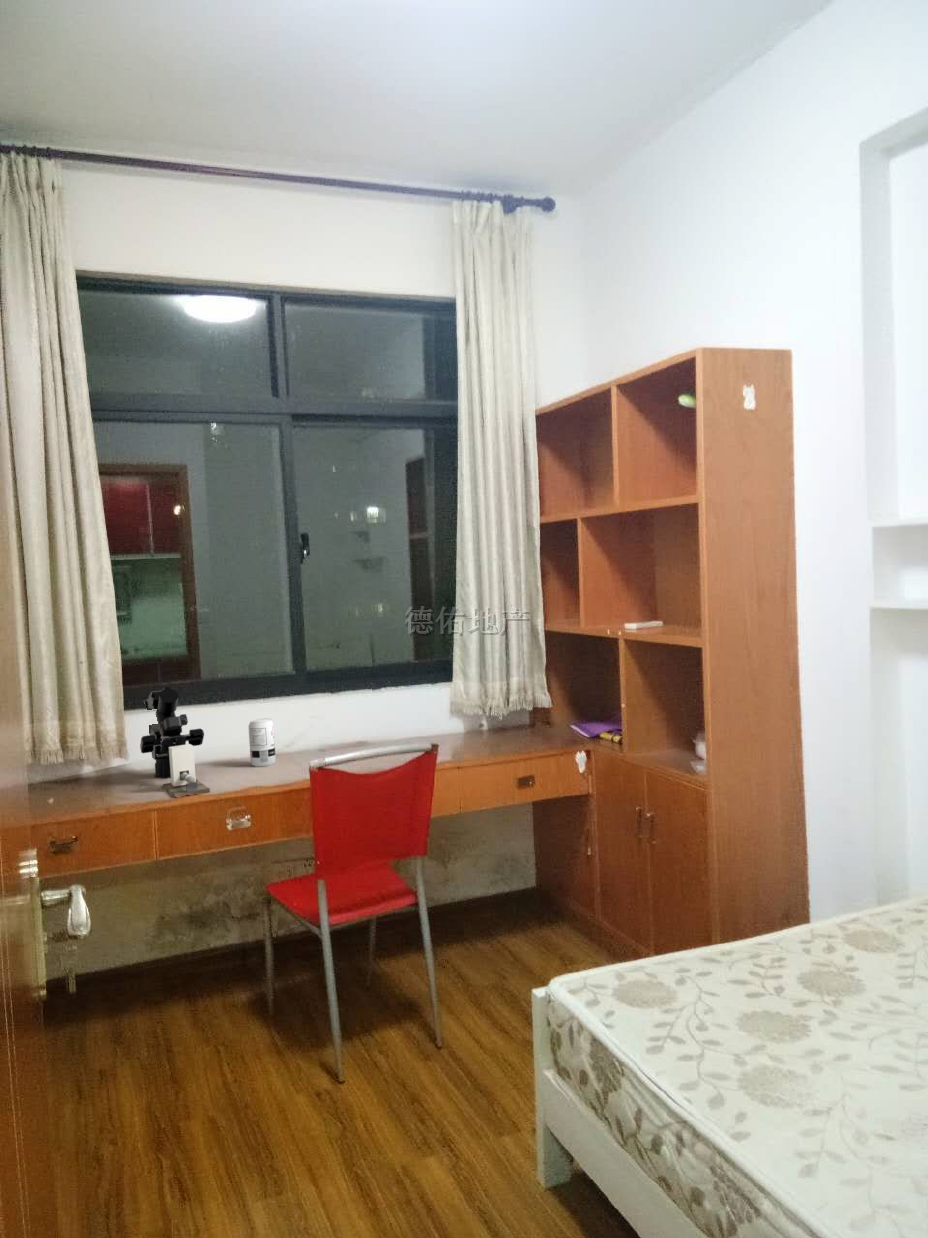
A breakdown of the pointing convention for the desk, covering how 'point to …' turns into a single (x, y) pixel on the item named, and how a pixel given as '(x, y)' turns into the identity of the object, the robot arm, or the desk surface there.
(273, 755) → the supplement can
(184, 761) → the white upright block
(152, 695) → the robot arm
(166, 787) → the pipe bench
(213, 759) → the desk surface
